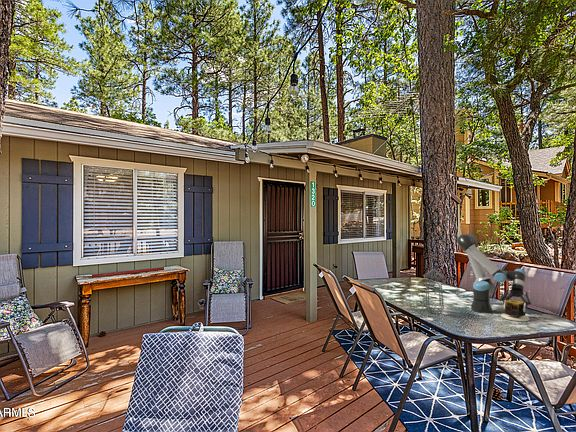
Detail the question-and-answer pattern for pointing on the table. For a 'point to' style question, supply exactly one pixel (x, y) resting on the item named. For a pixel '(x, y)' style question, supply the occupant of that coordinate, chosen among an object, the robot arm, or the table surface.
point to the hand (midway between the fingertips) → (514, 309)
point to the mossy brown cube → (514, 308)
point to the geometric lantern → (434, 286)
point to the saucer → (515, 318)
